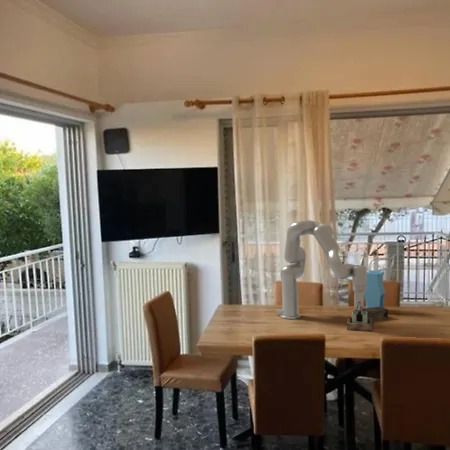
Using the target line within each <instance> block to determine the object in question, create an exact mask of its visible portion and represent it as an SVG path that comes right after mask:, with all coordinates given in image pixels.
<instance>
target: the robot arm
mask: <svg viewBox="0 0 450 450" xmlns="http://www.w3.org/2000/svg"><path fill="white" fill-rule="evenodd" d="M288 226H289V227H288V228H287V231H286V241H285V248H284V256H283V257H284V260H285V262H286V263H288V264H287V265H284V266H282V269H281V270H280V273H279V274H280V281H281V295H282V296H281V297H282V299H281V302H282V305H281V306H282V308H281V309H279V308H275V313H277V314H279V313H280V314H279V316H280V318H282V319H287V320H295V319H299V318H301V316H302V314H301V313H299V288H298V287H299V286H298V282H297V279H299V278H301V277H302V276H303V275H304V273H305V266H306V259H307V254H306V251H305V249H304V248H303V247H301V236H307V235H312V236H314V238H315V240H316V241H317V242H318V244H319V246H320V247H321V249H322V251H323V252H324V254H325V258H326V260H327V264H328V266H329V269H331V271H332V273H333V274H334V275H335V277H337V278H338V279H339V280H346V279H348V278H351V277H352V278H351V279H352V281H351V285H352V291H353V293H354V294H353V304H354V305H353V309H354V310H357V314H356V321H359V322H362V321H363V314H362V309H364V305H365V295H364V292H365V291H367V272H368V271H367V267H366V266H365V265H363V264H362V265H361V264H356V265H355V264H352V263H343V261H341V259H340V257H339V244H338V243H337V242H336V240H335V238H334V237H333V234H334V230H333V227H332V226H330V225H329V224H326V223H324V222H318V221H315V220H311V219H307V220H300V221H299V220H298V221H296V222H293V223H292V224H290V225H288Z"/></svg>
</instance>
